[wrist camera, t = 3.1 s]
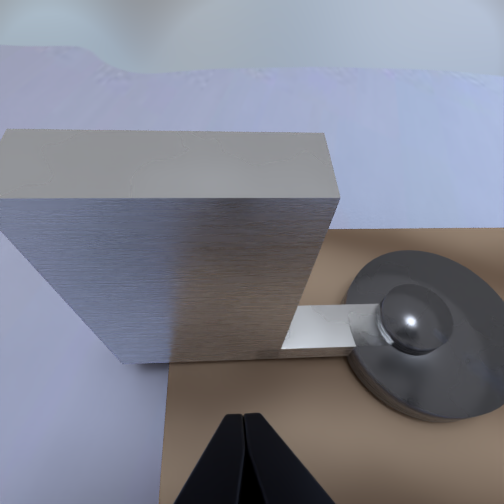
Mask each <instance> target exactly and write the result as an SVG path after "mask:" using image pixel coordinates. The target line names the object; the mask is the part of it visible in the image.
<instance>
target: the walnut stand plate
mask: <svg viewBox="0 0 504 504" xmlns="http://www.w3.org/2000/svg"><path fill="white" fill-rule="evenodd" d="M402 250H418V251H424V252H430V253H434V254H438V255H440V256H443V257H446V258H449V259H451V260H453V261H455V262H457V263H459V264H461V265H463V266H464V267H466V268H468V269H469V270H471V271H472V272H474V273H475V274H477V275H478V276H479V277H480V278H482V279H483V280H484V281H485V282H486V283H487V284H488V285H489V286H490V287H491V288H492V289H493V290H494V291H495V292H496V293H497V294H498V295H499V296H500V298H501V299H502V300H503V301H504V228H419V229H328V231H327V233H326V236H325V238H324V241H323V243H322V246H321V249H320V251H319V254H318V256H317V259H316V261H315V264H314V266H313V269H312V271H311V274H310V276H309V279H308V282H307V284H306V287H305V289H304V292H303V294H302V297H301V299H300V302H299V304H298V306H306V305H341V302H342V299H343V297H344V295H345V293H346V291H347V290H348V288H349V286H350V285H351V283H352V282H353V280H354V278H355V277H356V275H357V274H358V273H359V271H360V270H361V269H362V268H363V267H364V266H365V265H366V264H367V263H369V262H370V261H372V260H373V259H375V258H377V257H379V256H381V255H384V254H386V253H389V252H395V251H402ZM238 413H240V414H242V415H244V414H245V413H261V414H262V415H263V416H264V418H265V419H266V420H267V421H268V422H269V424H270V425H271V426H272V427H273V428H274V430H275V431H276V432H277V433H278V434H279V436H280V437H281V438H282V439H283V440H284V442H285V443H286V444H287V445H288V447H289V448H290V449H291V450H292V451H293V453H294V454H295V455H296V456H297V457H298V459H299V460H300V461H301V462H302V463H303V465H304V466H305V467H306V468H307V469H308V471H309V472H310V473H311V474H312V476H313V477H314V478H315V479H316V480H317V482H318V483H319V484H320V485H321V486H322V488H323V489H324V490H325V491H326V492H327V494H328V495H329V496H330V497H331V498H332V500H333V501H334V502H335V503H336V504H504V405H502V406H501V407H500V408H498V409H496V410H494V411H492V412H490V413H487V414H483V415H480V416H476V417H472V418H469V419H465V420H461V421H457V422H449V423H434V422H428V421H422V420H419V419H416V418H412V417H409V416H407V415H405V414H403V413H400V412H398V411H397V410H395V409H393V408H391V407H390V406H388V405H387V404H385V403H384V402H383V401H381V400H380V399H379V398H377V397H376V396H375V395H374V394H373V393H372V392H371V391H370V390H369V389H368V388H367V387H366V386H365V385H364V384H363V383H362V382H361V380H360V379H359V378H358V377H357V375H356V374H355V372H354V371H353V369H352V368H351V366H350V364H349V362H348V360H347V358H346V356H334V357H307V358H279V359H251V360H224V361H196V362H169V374H168V387H167V400H166V413H165V426H164V439H163V452H162V465H161V478H160V491H159V504H173V503H174V501H175V499H176V498H177V496H178V494H179V493H180V491H181V489H182V488H183V486H184V484H185V482H186V481H187V479H188V477H189V476H190V474H191V472H192V470H193V469H194V467H195V465H196V464H197V462H198V460H199V459H200V457H201V455H202V453H203V452H204V450H205V448H206V447H207V445H208V443H209V441H210V440H211V438H212V436H213V435H214V433H215V431H216V430H217V428H218V426H219V424H220V423H221V421H222V419H223V418H224V416H225V415H226V414H238Z"/></svg>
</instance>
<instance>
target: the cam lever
mask: <svg viewBox="0 0 504 504" xmlns="http://www.w3.org/2000/svg"><path fill="white" fill-rule="evenodd" d="M339 200H340V194H339V190H338V186H337V182H336V178H335V174H334V170H333V166H332V162H331V158H330V154H329V150H328V147H327V143H326V139H325V135H324V133H291V132H211V131H131V130H51V129H7V130H6V131H5V133H4V135H3V137H2V139H1V141H0V231H1V232H2V233H3V234H4V235H5V236H6V237H7V238H8V240H9V241H10V242H11V243H12V244H13V245H14V246H15V247H16V248H17V249H18V250H19V252H20V253H21V254H22V255H23V256H24V257H25V258H26V259H27V260H28V261H29V262H30V264H31V265H32V266H33V267H34V268H35V269H36V270H37V271H38V272H39V273H40V275H41V276H42V277H43V278H44V279H45V280H46V281H47V282H48V283H49V284H50V285H51V287H52V288H53V289H54V290H55V291H56V292H57V293H58V294H59V295H60V296H61V297H62V299H63V300H64V301H65V302H66V303H67V304H68V305H69V306H70V307H71V308H72V309H73V311H74V312H75V313H76V314H77V315H78V316H79V317H80V318H81V319H82V320H83V322H84V323H85V324H86V325H87V326H88V327H89V328H90V329H91V330H92V331H93V332H94V334H95V335H96V336H97V337H98V338H99V339H100V340H101V341H102V342H103V343H104V344H105V346H106V347H107V348H108V349H109V350H110V351H111V352H112V353H113V354H114V355H115V357H116V358H117V359H118V360H119V361H120V362H121V363H122V364H141V363H168V362H196V361H224V360H251V359H279V358H307V357H334V356H346V358H347V360H348V362H349V364H350V366H351V368H352V369H353V371H354V372H355V374H356V375H357V377H358V378H359V379H360V380H361V382H362V383H363V384H364V385H365V386H366V387H367V388H368V389H369V390H370V391H371V392H372V393H373V394H374V395H375V396H376V397H377V398H379V399H380V400H381V401H383V402H384V403H385V404H387V405H388V406H390V407H391V408H393V409H395V410H397V411H398V412H400V413H403V414H405V415H407V416H409V417H412V418H416V419H419V420H422V421H428V422H434V423H449V422H457V421H461V420H465V419H469V418H472V417H476V416H480V415H483V414H487V413H490V412H492V411H494V410H496V409H498V408H500V407H501V406H502V405H504V301H503V300H502V299H501V298H500V296H499V295H498V294H497V293H496V292H495V291H494V290H493V289H492V288H491V287H490V286H489V285H488V284H487V283H486V282H485V281H484V280H483V279H482V278H480V277H479V276H478V275H477V274H475V273H474V272H472V271H471V270H469V269H468V268H466V267H464V266H463V265H461V264H459V263H457V262H455V261H453V260H451V259H449V258H446V257H443V256H440V255H438V254H434V253H430V252H424V251H418V250H402V251H395V252H389V253H386V254H384V255H381V256H379V257H377V258H375V259H373V260H372V261H370V262H369V263H367V264H366V265H365V266H364V267H363V268H362V269H361V270H360V271H359V273H358V274H357V275H356V277H355V278H354V280H353V282H352V283H351V285H350V286H349V288H348V290H347V291H346V293H345V295H344V297H343V299H342V302H341V305H306V306H298V304H299V302H300V299H301V297H302V294H303V292H304V289H305V287H306V284H307V282H308V279H309V276H310V274H311V271H312V269H313V266H314V264H315V261H316V259H317V256H318V254H319V251H320V249H321V246H322V243H323V241H324V238H325V236H326V233H327V231H328V228H329V226H330V223H331V221H332V218H333V216H334V213H335V210H336V208H337V205H338V203H339Z"/></svg>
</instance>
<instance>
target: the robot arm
mask: <svg viewBox="0 0 504 504" xmlns="http://www.w3.org/2000/svg"><path fill="white" fill-rule="evenodd" d="M173 504H336V503H335V502H334V501H333V500H332V498H331V497H330V496H329V495H328V494H327V492H326V491H325V490H324V489H323V488H322V486H321V485H320V484H319V483H318V482H317V480H316V479H315V478H314V477H313V476H312V474H311V473H310V472H309V471H308V469H307V468H306V467H305V466H304V465H303V463H302V462H301V461H300V460H299V459H298V457H297V456H296V455H295V454H294V453H293V451H292V450H291V449H290V448H289V447H288V445H287V444H286V443H285V442H284V440H283V439H282V438H281V437H280V436H279V434H278V433H277V432H276V431H275V430H274V428H273V427H272V426H271V425H270V424H269V422H268V421H267V420H266V419H265V418H264V416H263V415H262V414H261V413H245V414H244V415H242V414H240V413H238V414H226V415H225V416H224V418H223V419H222V421H221V423H220V424H219V426H218V428H217V430H216V431H215V433H214V435H213V436H212V438H211V440H210V441H209V443H208V445H207V447H206V448H205V450H204V452H203V453H202V455H201V457H200V459H199V460H198V462H197V464H196V465H195V467H194V469H193V470H192V472H191V474H190V476H189V477H188V479H187V481H186V482H185V484H184V486H183V488H182V489H181V491H180V493H179V494H178V496H177V498H176V499H175V501H174V503H173Z"/></svg>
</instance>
